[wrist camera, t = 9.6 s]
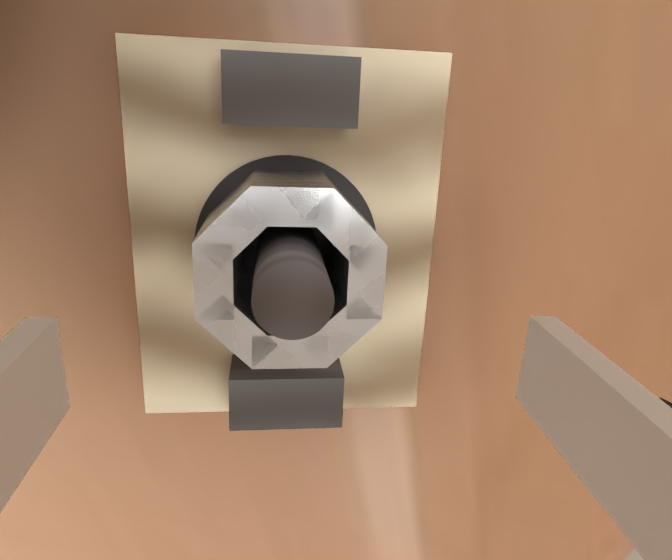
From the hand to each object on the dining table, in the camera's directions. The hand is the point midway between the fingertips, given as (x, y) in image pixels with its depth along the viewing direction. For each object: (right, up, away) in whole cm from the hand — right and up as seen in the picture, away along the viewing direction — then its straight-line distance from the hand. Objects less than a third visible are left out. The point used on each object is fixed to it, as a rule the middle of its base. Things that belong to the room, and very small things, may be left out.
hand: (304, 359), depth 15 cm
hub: (-2, +4, +13) cm, 14 cm away
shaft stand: (-2, +4, +14) cm, 15 cm away
